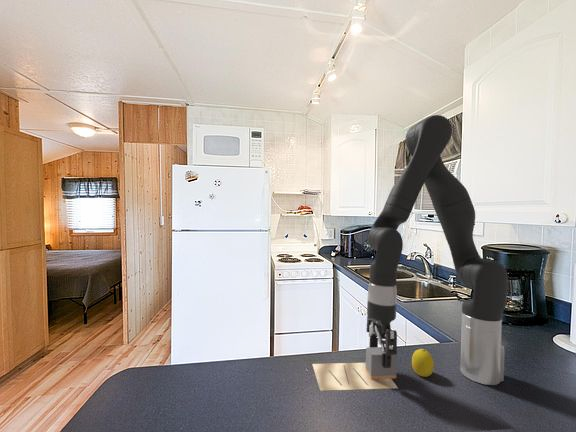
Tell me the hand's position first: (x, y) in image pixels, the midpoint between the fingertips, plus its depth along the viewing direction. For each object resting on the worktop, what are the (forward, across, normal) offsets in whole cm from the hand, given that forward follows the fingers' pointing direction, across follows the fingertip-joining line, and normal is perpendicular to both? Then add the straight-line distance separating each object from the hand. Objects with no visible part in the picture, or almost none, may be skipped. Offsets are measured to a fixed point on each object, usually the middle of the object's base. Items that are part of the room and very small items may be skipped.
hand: (379, 358), depth 75 cm
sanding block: (+4, 0, 0) cm, 4 cm away
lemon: (+6, 0, -12) cm, 14 cm away
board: (+6, 0, +8) cm, 9 cm away
